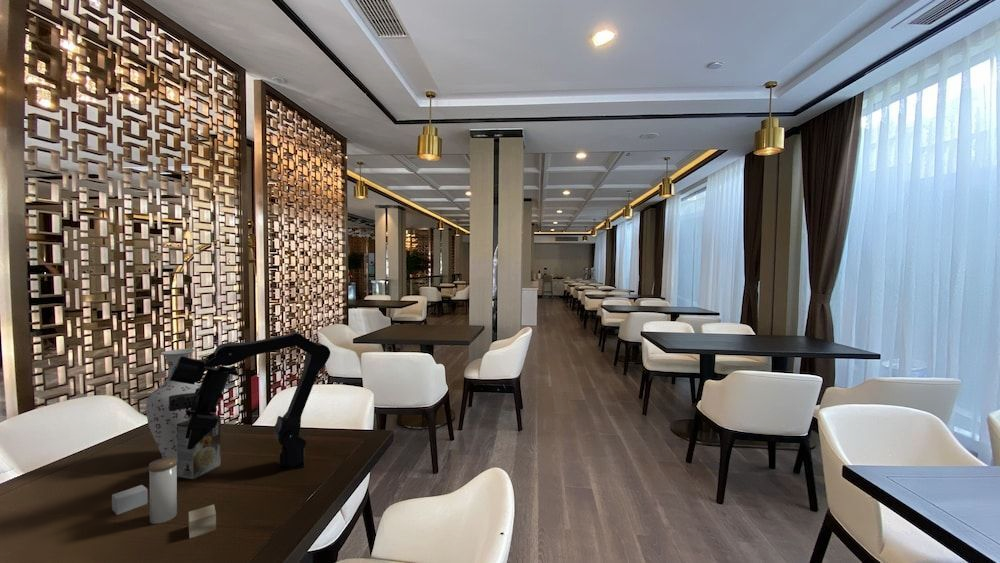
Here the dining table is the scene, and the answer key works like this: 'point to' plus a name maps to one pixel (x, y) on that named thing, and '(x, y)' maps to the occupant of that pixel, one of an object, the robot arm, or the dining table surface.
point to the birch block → (202, 521)
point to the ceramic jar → (163, 489)
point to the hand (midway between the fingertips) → (188, 443)
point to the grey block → (129, 499)
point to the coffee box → (198, 452)
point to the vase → (158, 407)
